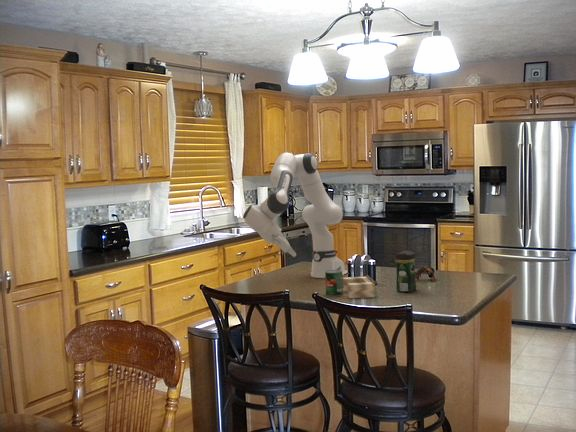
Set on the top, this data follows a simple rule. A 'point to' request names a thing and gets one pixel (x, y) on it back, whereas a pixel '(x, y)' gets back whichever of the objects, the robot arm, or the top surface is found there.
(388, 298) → the top surface
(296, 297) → the top surface
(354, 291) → the holder
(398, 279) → the coffee jar
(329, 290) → the canned tomato
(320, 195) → the robot arm
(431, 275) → the brown arched piece
